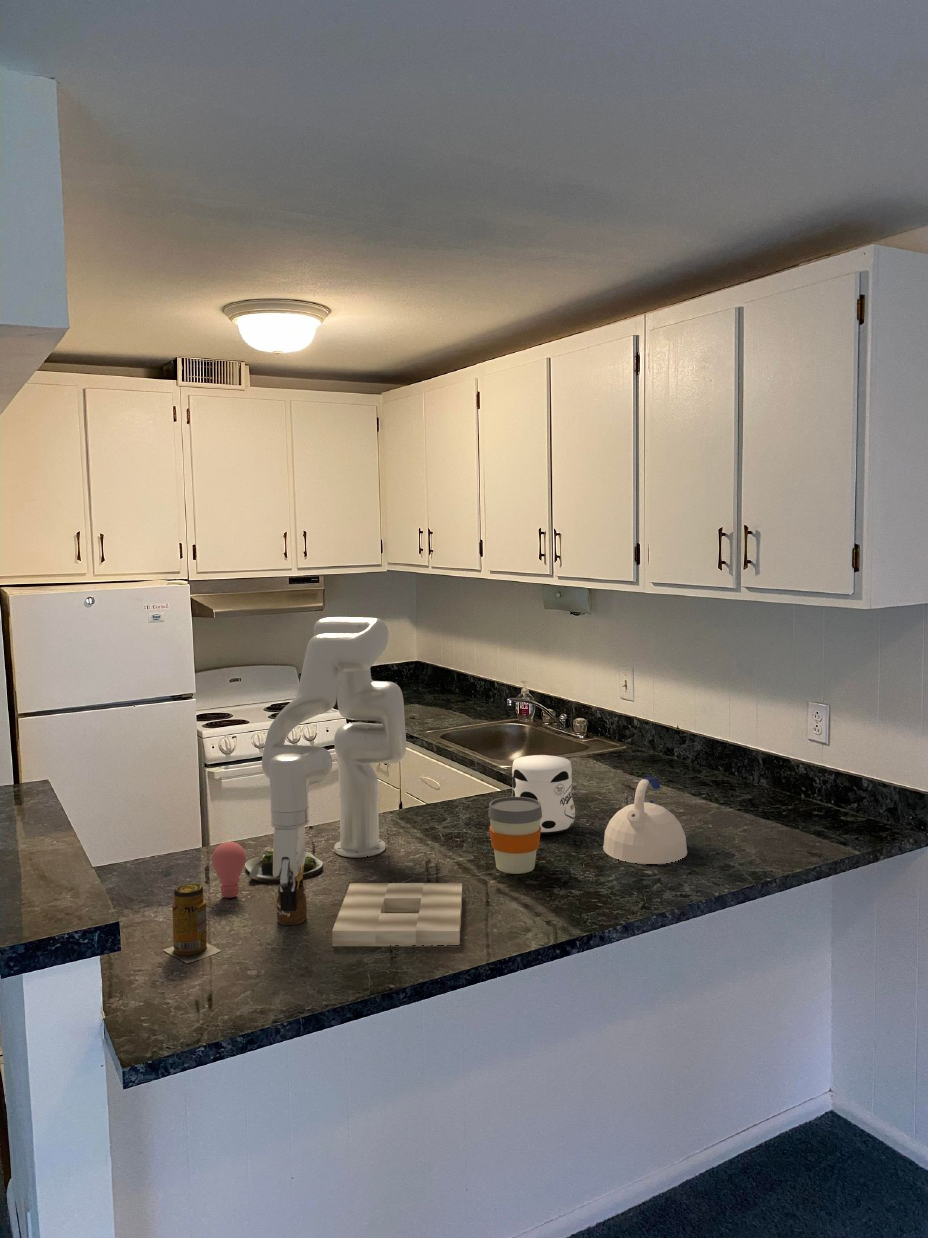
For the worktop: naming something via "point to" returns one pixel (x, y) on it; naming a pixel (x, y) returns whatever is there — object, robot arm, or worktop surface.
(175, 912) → the condiment
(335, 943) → the socket board
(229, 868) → the light bulb
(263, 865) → the salad plate
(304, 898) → the utensil holder
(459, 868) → the worktop surface
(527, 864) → the reusable coffee cup
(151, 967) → the worktop surface
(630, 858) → the kettle
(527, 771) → the milk container
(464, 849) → the worktop surface
